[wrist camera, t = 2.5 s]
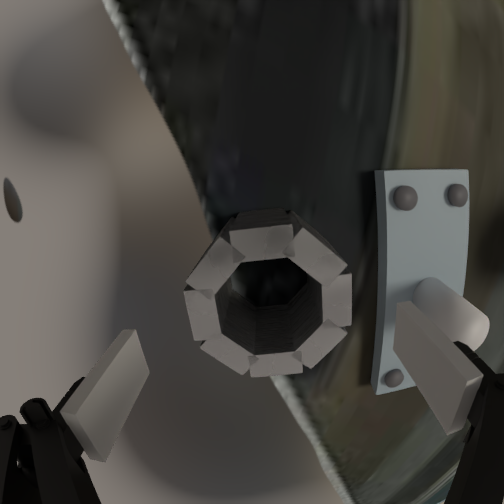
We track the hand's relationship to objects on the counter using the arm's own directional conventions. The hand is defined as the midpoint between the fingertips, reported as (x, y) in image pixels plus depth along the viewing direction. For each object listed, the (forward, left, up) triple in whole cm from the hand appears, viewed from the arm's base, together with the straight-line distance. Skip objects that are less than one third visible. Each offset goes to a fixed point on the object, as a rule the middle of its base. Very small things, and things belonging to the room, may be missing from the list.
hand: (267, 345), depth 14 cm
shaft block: (+3, +13, -10) cm, 17 cm away
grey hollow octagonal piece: (0, 0, -10) cm, 10 cm away
